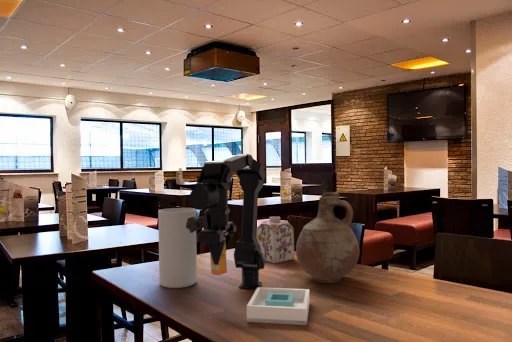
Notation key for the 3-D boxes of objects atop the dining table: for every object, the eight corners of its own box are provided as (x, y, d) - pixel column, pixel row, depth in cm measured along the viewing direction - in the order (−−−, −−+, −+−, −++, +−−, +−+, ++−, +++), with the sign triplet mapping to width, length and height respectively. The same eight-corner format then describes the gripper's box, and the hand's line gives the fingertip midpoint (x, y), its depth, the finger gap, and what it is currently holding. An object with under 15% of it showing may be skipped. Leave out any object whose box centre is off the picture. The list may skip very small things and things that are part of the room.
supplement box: (218, 271, 113) (217, 235, 113) (227, 273, 110) (226, 237, 110) (209, 273, 110) (209, 237, 110) (218, 275, 108) (218, 238, 108)
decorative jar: (276, 255, 177) (275, 214, 177) (295, 259, 168) (294, 217, 168) (255, 259, 170) (255, 217, 169) (274, 264, 161) (273, 219, 160)
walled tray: (257, 300, 116) (257, 287, 116) (309, 303, 114) (309, 289, 114) (246, 321, 101) (246, 306, 101) (306, 325, 98) (306, 308, 98)
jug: (303, 269, 151) (302, 190, 151) (362, 273, 144) (361, 191, 144) (289, 285, 131) (288, 194, 131) (356, 291, 124) (355, 195, 123)
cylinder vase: (170, 291, 127) (169, 212, 127) (153, 283, 136) (152, 210, 136) (203, 283, 135) (202, 209, 135) (185, 276, 144) (184, 207, 144)
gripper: (200, 203, 121) (201, 254, 121) (177, 209, 102) (178, 270, 103) (236, 203, 119) (237, 255, 119) (218, 209, 100) (219, 271, 100)
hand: (218, 262), depth 110 cm, fingers closed on supplement box, 4 cm apart
